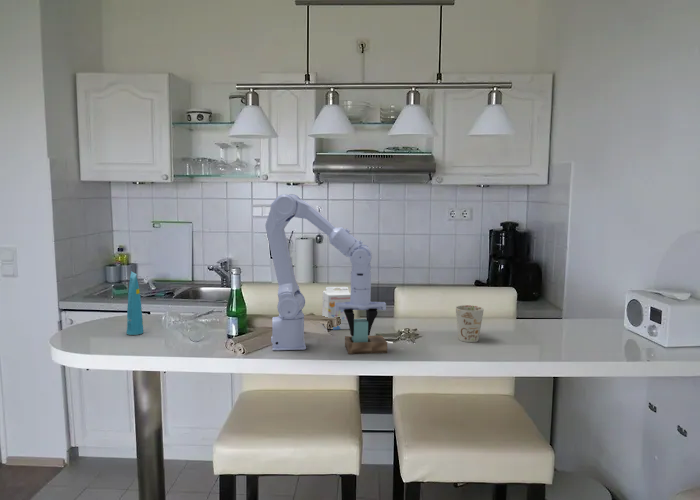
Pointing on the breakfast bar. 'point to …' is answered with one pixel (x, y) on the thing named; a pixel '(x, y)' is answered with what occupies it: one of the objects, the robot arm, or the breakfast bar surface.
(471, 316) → the mug
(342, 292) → the ink box
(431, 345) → the breakfast bar surface
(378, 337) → the walnut base
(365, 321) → the teal block
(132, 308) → the tube
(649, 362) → the breakfast bar surface
